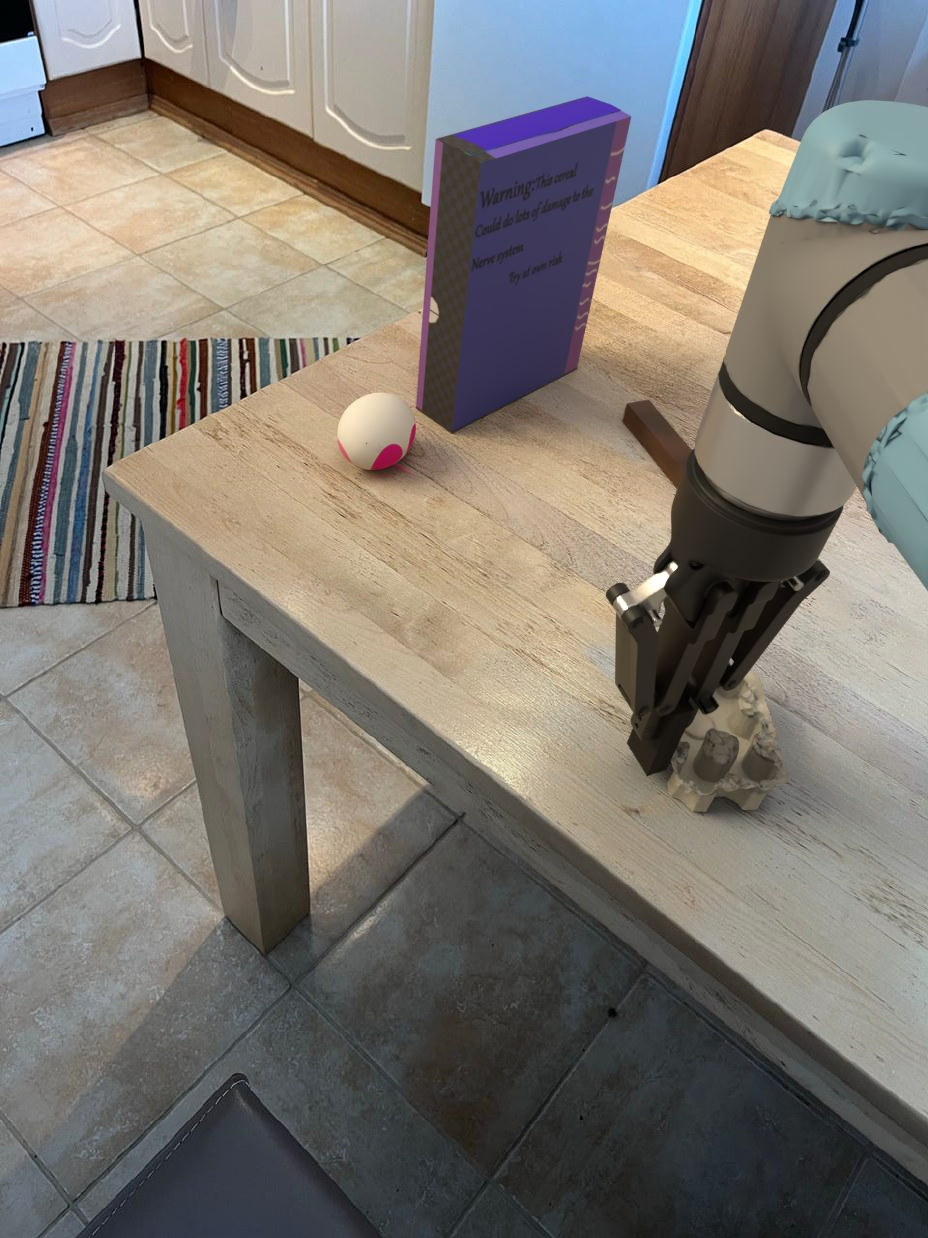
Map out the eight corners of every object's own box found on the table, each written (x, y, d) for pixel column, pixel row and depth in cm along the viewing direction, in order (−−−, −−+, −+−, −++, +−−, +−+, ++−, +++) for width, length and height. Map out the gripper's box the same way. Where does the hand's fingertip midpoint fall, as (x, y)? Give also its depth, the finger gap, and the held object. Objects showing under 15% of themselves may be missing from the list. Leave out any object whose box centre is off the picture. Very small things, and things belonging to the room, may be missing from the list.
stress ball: (366, 516, 82) (403, 487, 76) (305, 443, 80) (338, 408, 75) (418, 472, 86) (457, 441, 80) (361, 401, 84) (396, 365, 79)
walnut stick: (761, 558, 78) (769, 540, 77) (737, 563, 77) (745, 546, 76) (643, 417, 90) (649, 399, 89) (621, 420, 89) (626, 402, 88)
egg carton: (638, 684, 68) (652, 646, 65) (740, 688, 68) (759, 651, 65) (664, 815, 60) (681, 779, 57) (777, 818, 61) (800, 783, 58)
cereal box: (541, 347, 96) (587, 93, 79) (576, 369, 94) (632, 113, 77) (415, 408, 87) (435, 135, 70) (451, 433, 85) (481, 159, 68)
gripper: (830, 406, 49) (699, 689, 66) (610, 445, 45) (532, 737, 62) (927, 498, 44) (760, 776, 62) (694, 551, 40) (584, 834, 57)
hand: (646, 756), depth 62 cm, fingers closed
